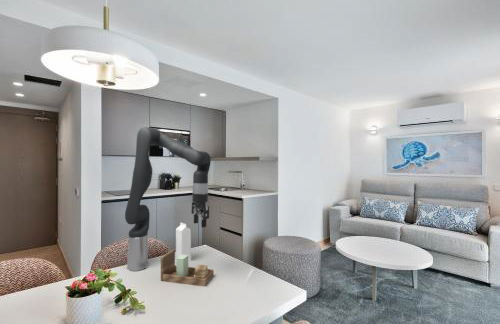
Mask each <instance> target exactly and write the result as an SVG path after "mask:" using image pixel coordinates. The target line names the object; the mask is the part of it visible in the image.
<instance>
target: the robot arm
mask: <svg viewBox="0 0 500 324" xmlns="http://www.w3.org/2000/svg"><path fill="white" fill-rule="evenodd" d="M153 146H157V147H161V148H164V149H166V150H167V151H169V152H170V153H171V154H173V155H175V156H176V157H179V158H181V159H182V160H183V159H184V160H185V161H186V162H188V163H190V164H192V165H194V166H196V167H197V168H196V170H195V171H194V172H193V175H192V177H193V178H192V180H193V181H192V193H191V194H192V198H191V199H192V202H191V211H190V212H191V214H192V216H193V224H198V223H199V216H200V217H201V220H200V221H201V228H203V229H204V228H207V220H208V219H210V206H209V205H206V203H208V202H209V184H208V183H209V171H210V168H211V161H212V160H211V156H210V153H209V152H207V151H202V150H201V151H200V150H197V149H195V148H194V147H192V146H190V145H188V144H186V143H184V142H182V141H178V140H176V139H174V138H171V137H170V136H168V135H167V134H164V132H162V131H160V130H158V129H157V128H154V127H148V126H143V127H140V128H139V130H138V131H137V134H136V148H135V149H136V150H135V151H136V152H135V157H134V158H135V159H134V160H135V161H134V168H133V171H132V172H133V173H132V179H131V187H130V191H129V196H128V201H127V204H126V207H125V211H124V218H125V222H126V223H127V224H128V225H134V226H133V227H132V228H131V229H130V230H129V231H128V250H126V259H127V260H126V261H127V263H126V265H127V268H126V269H128V270H129V271H131V272H138V271H143V270H145V269H147V268H148V267H147V266H149V263H148V262H149V261H148V259H149V257H148V256H149V255H148V254H149V252H148V250H149V249H148V248H149V247H148V243H149V241H148V235H149V234H148V231H149V229H150V216H151V215H150V210H149V207H148V206H147V205H146V204H141V201H142V199H143V197H144V195H145V194H146V192H147V191H148V189H149V187H150V185H151V183H152V178H153V165H152V163H151V161H150V150H151V149H150V148H151V147H153ZM146 267H147V268H146ZM144 268H145V269H144ZM142 269H143V270H142Z"/></svg>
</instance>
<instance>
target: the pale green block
mask: <svg viewBox="0 0 500 324" xmlns="http://www.w3.org/2000/svg"><path fill="white" fill-rule="evenodd" d="M175 265H176V271H177V276H185V277H186V276H187V275H188V267H189V261H188V255H181V256H179V257H178V258H176V257H175Z"/></svg>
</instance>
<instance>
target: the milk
mask: <svg viewBox="0 0 500 324" xmlns="http://www.w3.org/2000/svg"><path fill="white" fill-rule="evenodd" d="M179 223H180V225H179V226H177V227H176V228H175V259H176V258H178V257H179V256H181V255H188V262H189V261H192V246H191V245H192V243H191V242H192V238H191V237H192V235H191V233H192V229H191V228H190V227H187V223H184V222H179Z"/></svg>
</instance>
